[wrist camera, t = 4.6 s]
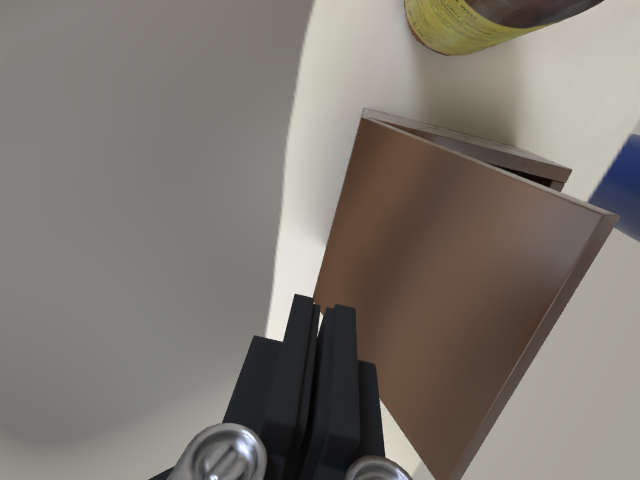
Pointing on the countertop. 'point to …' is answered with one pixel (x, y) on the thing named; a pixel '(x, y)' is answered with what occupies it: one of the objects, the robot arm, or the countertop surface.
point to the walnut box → (481, 151)
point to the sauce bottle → (483, 21)
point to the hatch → (450, 282)
